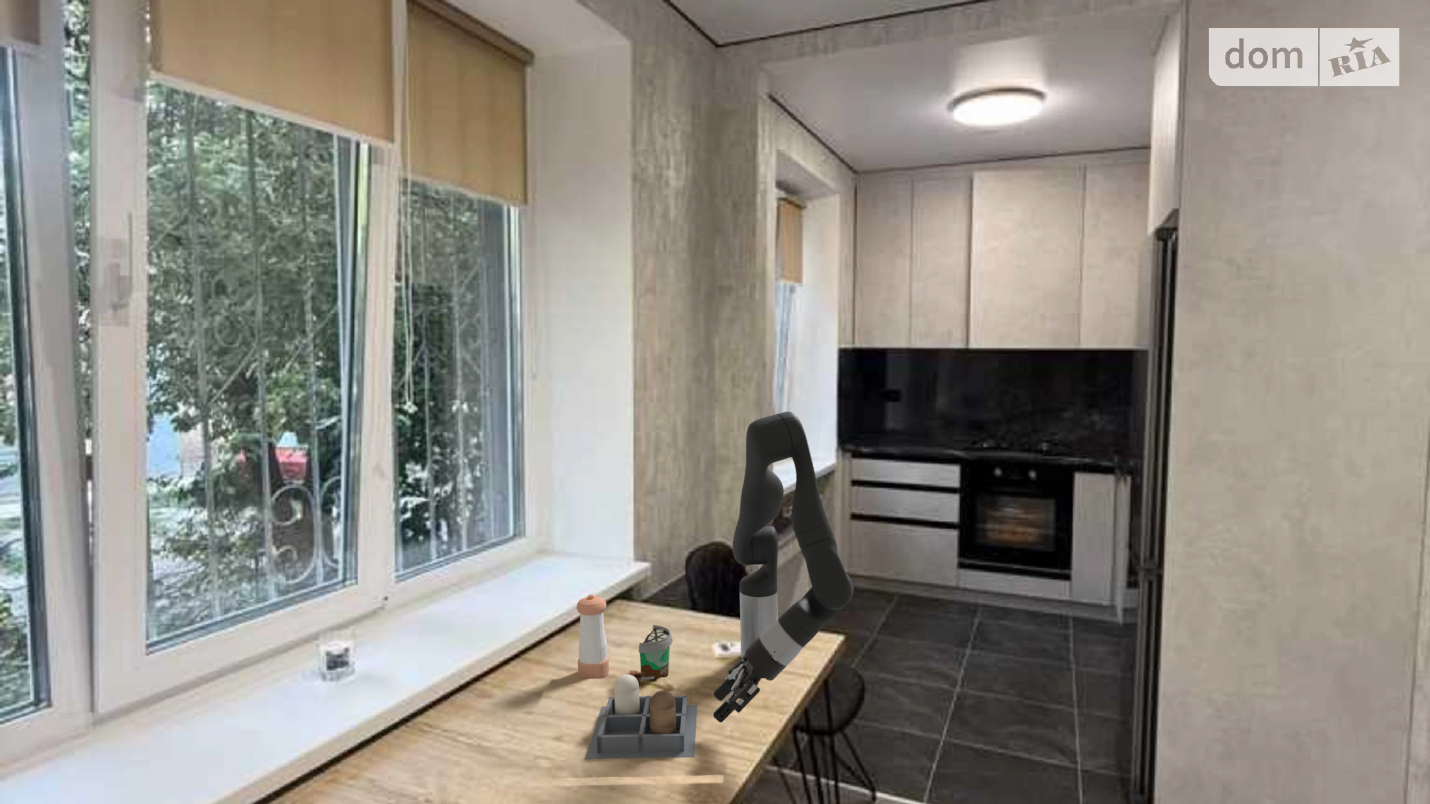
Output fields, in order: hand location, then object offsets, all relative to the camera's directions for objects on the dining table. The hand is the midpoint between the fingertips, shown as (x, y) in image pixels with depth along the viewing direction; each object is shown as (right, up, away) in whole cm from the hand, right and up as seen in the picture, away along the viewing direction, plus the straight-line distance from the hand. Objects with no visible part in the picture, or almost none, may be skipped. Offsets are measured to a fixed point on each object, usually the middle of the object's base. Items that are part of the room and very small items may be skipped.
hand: (716, 707), depth 145 cm
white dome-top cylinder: (-18, -6, +8) cm, 21 cm away
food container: (-13, -5, +31) cm, 35 cm away
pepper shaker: (-29, -6, +33) cm, 45 cm away
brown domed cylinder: (-10, -6, +1) cm, 12 cm away
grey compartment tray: (-14, -7, +4) cm, 17 cm away
